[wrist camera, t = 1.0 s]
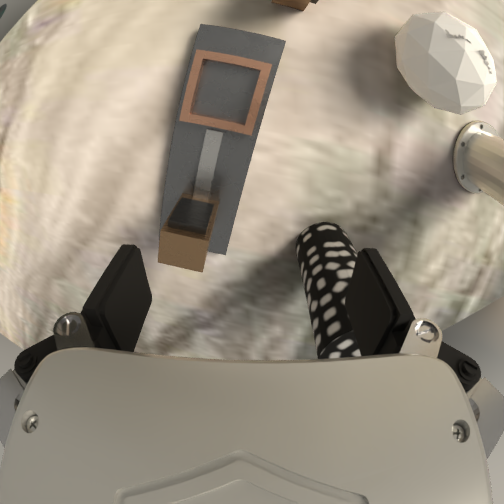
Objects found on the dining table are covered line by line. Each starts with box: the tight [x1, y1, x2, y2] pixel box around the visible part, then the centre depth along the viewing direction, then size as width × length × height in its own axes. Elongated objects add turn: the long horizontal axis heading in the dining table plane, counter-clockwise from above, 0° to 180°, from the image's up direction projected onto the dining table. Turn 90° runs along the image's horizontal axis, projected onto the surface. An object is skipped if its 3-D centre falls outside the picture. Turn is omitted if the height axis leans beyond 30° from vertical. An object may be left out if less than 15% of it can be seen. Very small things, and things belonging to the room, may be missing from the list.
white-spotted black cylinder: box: [296, 222, 361, 359], centre depth 33 cm, size 8×8×20 cm
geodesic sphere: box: [395, 12, 497, 115], centre depth 19 cm, size 14×14×14 cm
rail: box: [158, 24, 286, 272], centre depth 28 cm, size 10×30×12 cm, turn 165°
